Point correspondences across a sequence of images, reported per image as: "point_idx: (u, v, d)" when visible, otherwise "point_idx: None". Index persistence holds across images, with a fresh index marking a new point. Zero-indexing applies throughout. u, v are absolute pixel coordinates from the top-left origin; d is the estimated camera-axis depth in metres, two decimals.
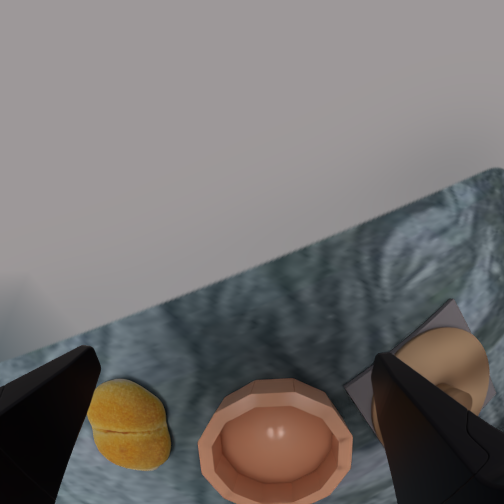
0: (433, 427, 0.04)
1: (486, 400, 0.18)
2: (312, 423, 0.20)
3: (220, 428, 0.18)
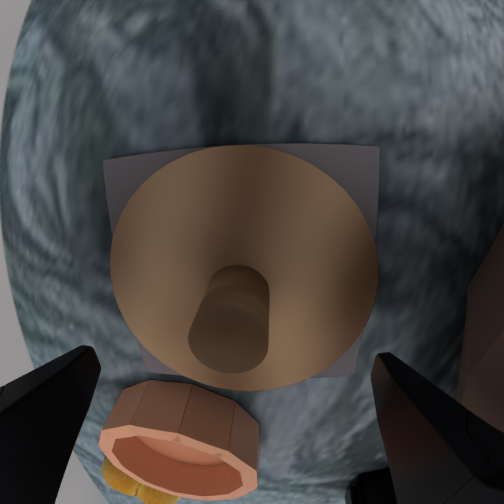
0: (433, 427, 0.04)
1: (370, 178, 0.11)
2: None
3: (128, 470, 0.16)
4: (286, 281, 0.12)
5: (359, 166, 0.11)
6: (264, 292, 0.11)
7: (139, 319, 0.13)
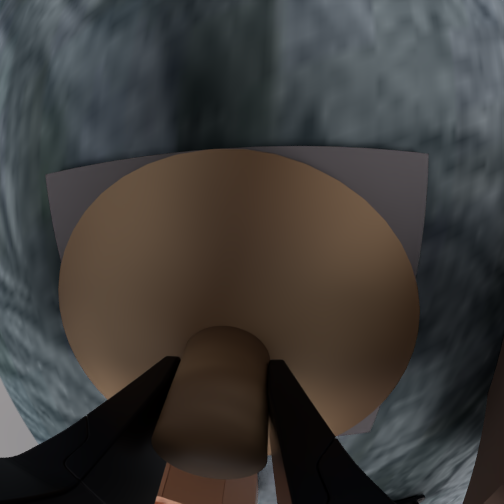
0: (279, 449, 0.04)
1: (414, 199, 0.08)
2: None
3: None
4: (293, 346, 0.08)
5: (401, 182, 0.07)
6: (262, 370, 0.07)
7: (104, 378, 0.09)
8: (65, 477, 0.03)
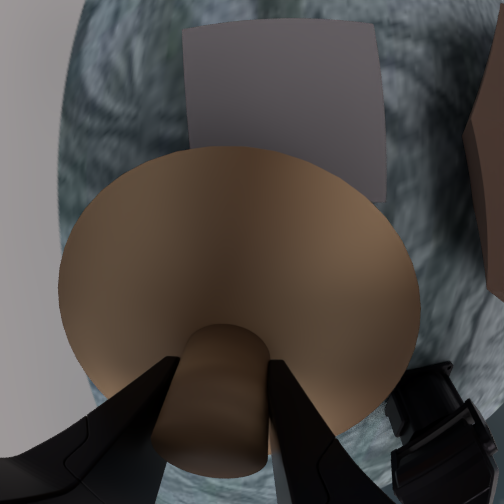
0: (279, 449, 0.04)
1: (370, 41, 0.14)
2: None
3: None
4: (294, 344, 0.08)
5: (362, 33, 0.13)
6: (263, 369, 0.07)
7: (104, 377, 0.09)
8: (65, 477, 0.03)
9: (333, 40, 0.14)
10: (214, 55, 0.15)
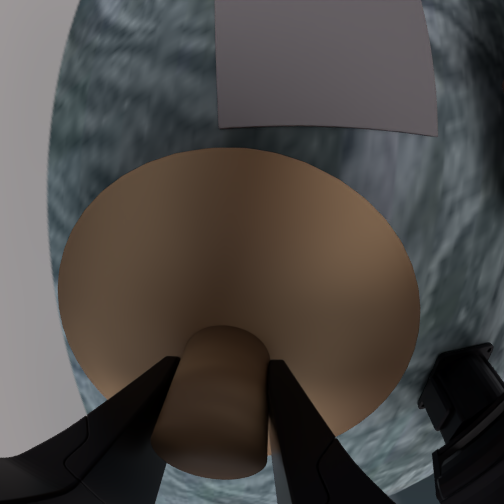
0: (280, 448, 0.04)
1: None
2: None
3: None
4: (294, 345, 0.08)
5: None
6: (262, 370, 0.07)
7: (104, 378, 0.09)
8: (65, 477, 0.03)
9: None
10: None
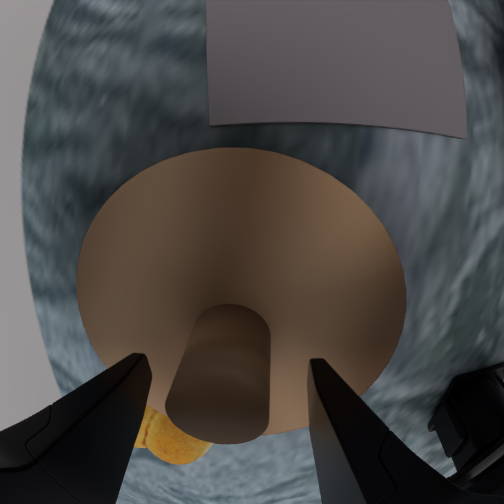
0: (340, 445, 0.04)
1: None
2: None
3: None
4: (292, 323, 0.09)
5: None
6: (264, 342, 0.08)
7: (116, 359, 0.11)
8: (25, 457, 0.03)
9: None
10: None
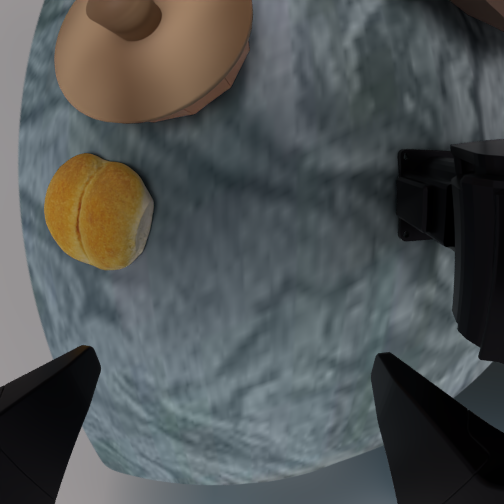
0: (433, 427, 0.04)
1: None
2: None
3: None
4: (173, 4, 0.11)
5: None
6: None
7: (67, 71, 0.12)
8: None
9: None
10: None
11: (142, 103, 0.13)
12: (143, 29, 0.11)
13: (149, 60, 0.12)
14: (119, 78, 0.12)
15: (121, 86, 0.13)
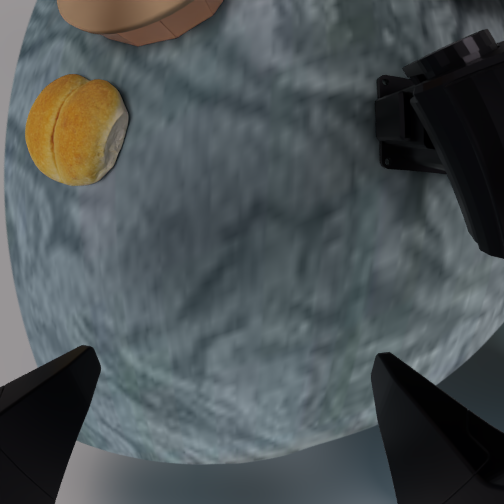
0: (433, 427, 0.04)
1: None
2: None
3: None
4: None
5: None
6: None
7: None
8: None
9: None
10: None
11: (126, 12, 0.11)
12: None
13: None
14: None
15: (110, 2, 0.11)
